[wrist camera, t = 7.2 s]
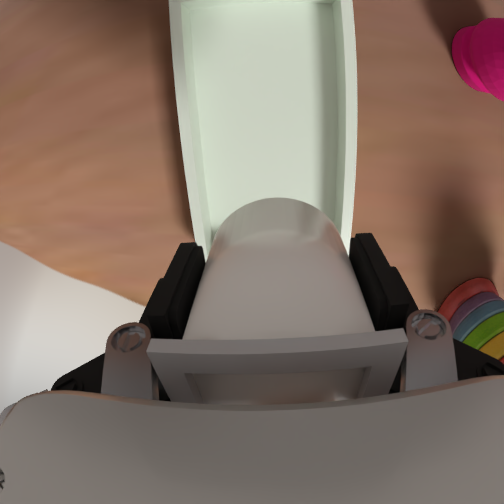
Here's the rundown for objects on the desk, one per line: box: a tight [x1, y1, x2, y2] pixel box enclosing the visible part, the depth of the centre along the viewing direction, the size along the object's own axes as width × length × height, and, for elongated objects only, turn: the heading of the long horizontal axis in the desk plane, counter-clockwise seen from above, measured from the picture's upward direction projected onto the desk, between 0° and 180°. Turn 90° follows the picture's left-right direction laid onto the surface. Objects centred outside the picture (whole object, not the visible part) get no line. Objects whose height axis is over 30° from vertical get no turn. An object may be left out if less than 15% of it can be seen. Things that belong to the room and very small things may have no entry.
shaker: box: [146, 197, 408, 405], centre depth 9 cm, size 5×5×7 cm
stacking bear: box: [438, 278, 504, 364], centre depth 24 cm, size 11×10×18 cm
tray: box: [169, 0, 357, 262], centre depth 21 cm, size 12×22×4 cm, turn 3°
